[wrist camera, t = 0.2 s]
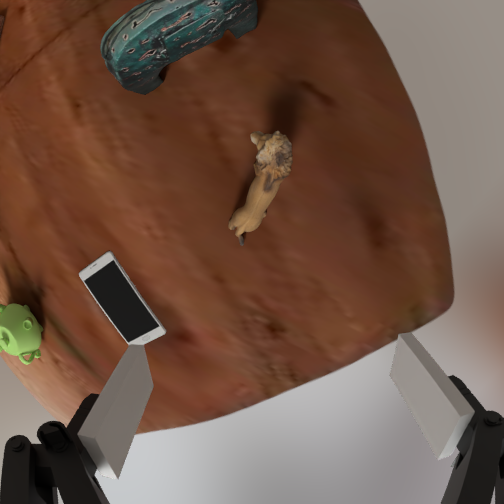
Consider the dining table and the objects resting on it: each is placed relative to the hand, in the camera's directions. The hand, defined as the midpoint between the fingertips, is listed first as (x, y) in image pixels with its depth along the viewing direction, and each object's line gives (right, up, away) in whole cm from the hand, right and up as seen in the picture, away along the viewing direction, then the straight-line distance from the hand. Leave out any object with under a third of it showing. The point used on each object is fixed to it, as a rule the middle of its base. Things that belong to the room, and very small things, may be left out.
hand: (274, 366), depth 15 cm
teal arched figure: (-8, +32, +20) cm, 39 cm away
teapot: (-43, -7, +31) cm, 53 cm away
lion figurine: (0, +14, +25) cm, 29 cm away
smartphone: (-21, -2, +30) cm, 37 cm away
